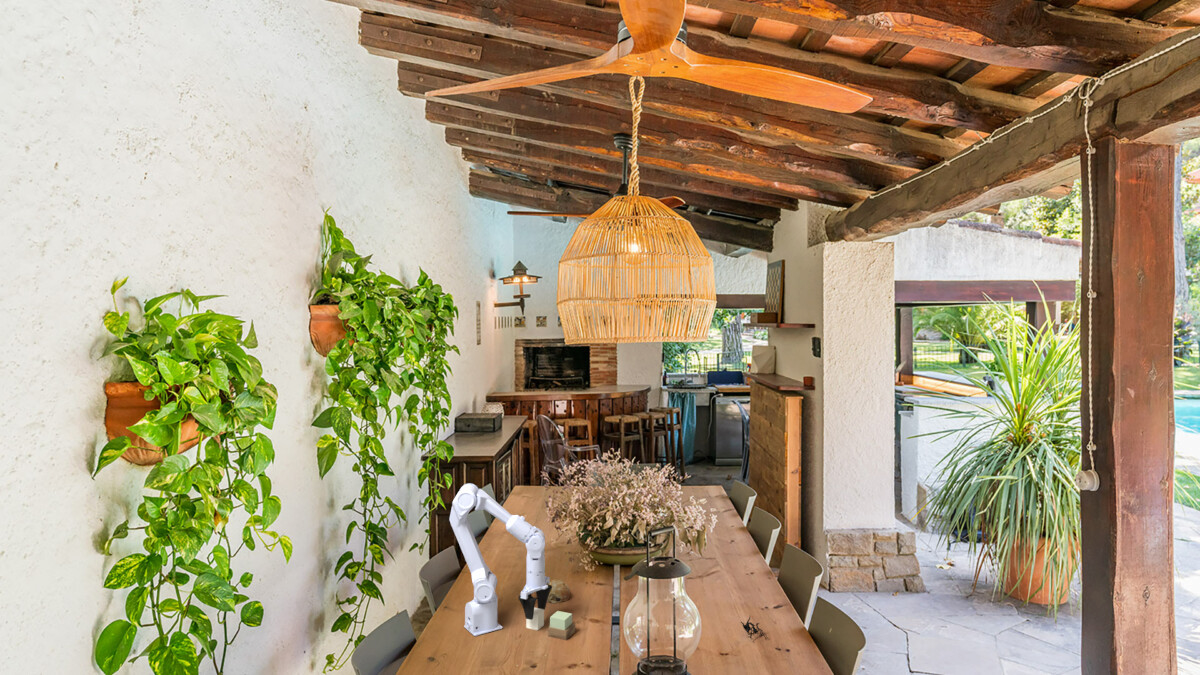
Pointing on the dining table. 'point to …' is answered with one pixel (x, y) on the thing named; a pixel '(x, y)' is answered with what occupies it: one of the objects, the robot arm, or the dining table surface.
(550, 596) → the brown rounded lump
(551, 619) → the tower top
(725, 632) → the dining table surface
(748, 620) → the creature
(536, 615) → the white block
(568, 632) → the tower base
